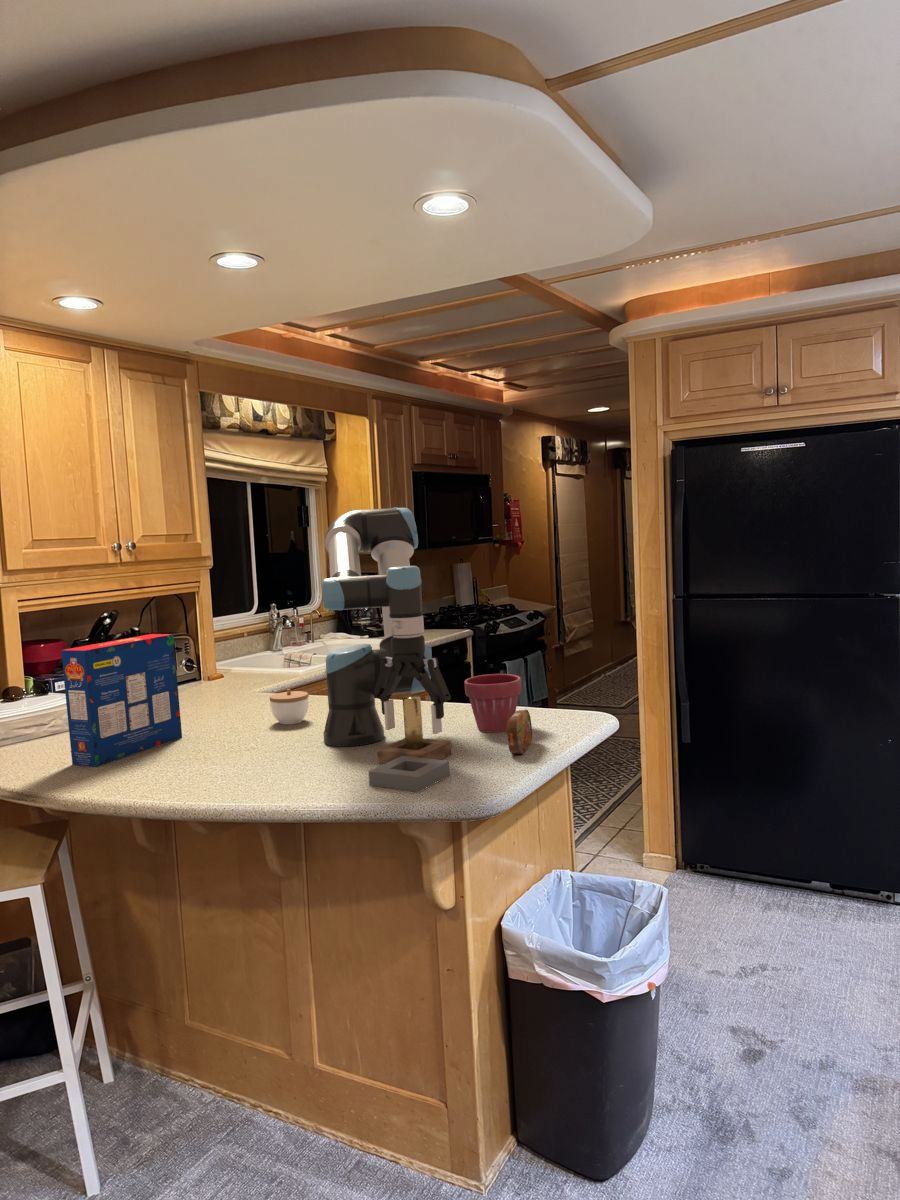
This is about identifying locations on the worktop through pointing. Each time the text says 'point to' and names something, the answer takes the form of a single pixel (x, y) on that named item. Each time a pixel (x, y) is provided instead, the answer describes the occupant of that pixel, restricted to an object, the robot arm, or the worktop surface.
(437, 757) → the brown wooden square frame
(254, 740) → the worktop surface
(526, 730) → the tin
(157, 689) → the pasta box
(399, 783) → the plate
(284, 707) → the lidded jar
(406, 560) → the robot arm
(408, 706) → the lock pin
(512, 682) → the plant pot
